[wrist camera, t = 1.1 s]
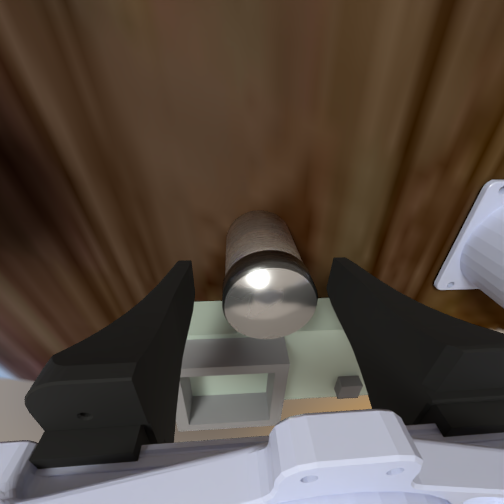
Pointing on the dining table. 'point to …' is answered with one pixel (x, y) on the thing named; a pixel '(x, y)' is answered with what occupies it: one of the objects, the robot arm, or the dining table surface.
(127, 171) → the dining table surface
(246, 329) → the lens
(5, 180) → the dining table surface
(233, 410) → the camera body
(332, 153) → the dining table surface
